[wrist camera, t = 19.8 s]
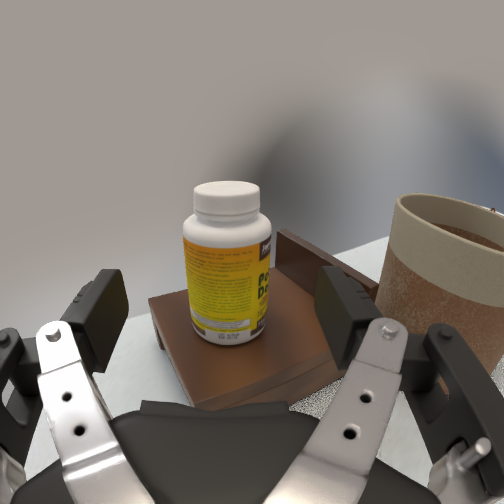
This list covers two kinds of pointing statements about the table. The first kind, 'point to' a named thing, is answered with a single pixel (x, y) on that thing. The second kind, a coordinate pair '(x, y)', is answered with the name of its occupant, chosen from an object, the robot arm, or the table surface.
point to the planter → (446, 272)
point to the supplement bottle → (227, 262)
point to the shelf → (258, 338)
